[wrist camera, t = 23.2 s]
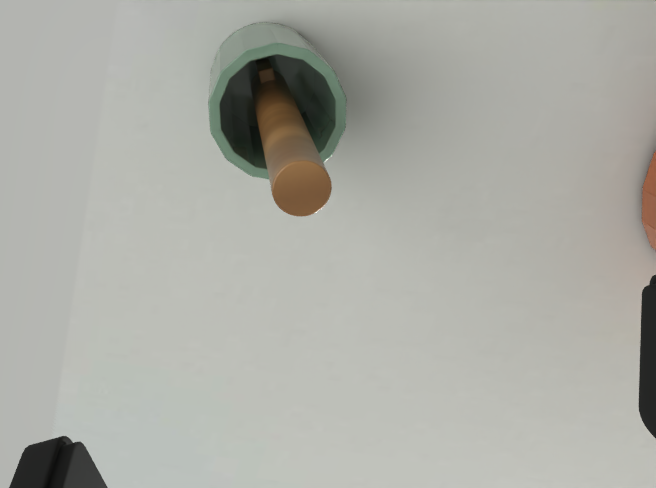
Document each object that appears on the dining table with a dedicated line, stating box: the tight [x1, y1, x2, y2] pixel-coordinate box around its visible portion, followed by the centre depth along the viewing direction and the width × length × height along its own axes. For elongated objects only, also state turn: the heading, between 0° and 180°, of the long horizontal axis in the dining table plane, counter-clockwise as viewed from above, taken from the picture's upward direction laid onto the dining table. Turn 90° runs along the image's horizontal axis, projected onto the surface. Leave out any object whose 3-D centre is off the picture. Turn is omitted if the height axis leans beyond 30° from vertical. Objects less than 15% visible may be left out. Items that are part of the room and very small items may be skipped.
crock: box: [208, 22, 346, 179], centre depth 32 cm, size 6×6×8 cm
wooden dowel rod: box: [251, 58, 332, 216], centre depth 28 cm, size 3×2×16 cm, turn 11°
